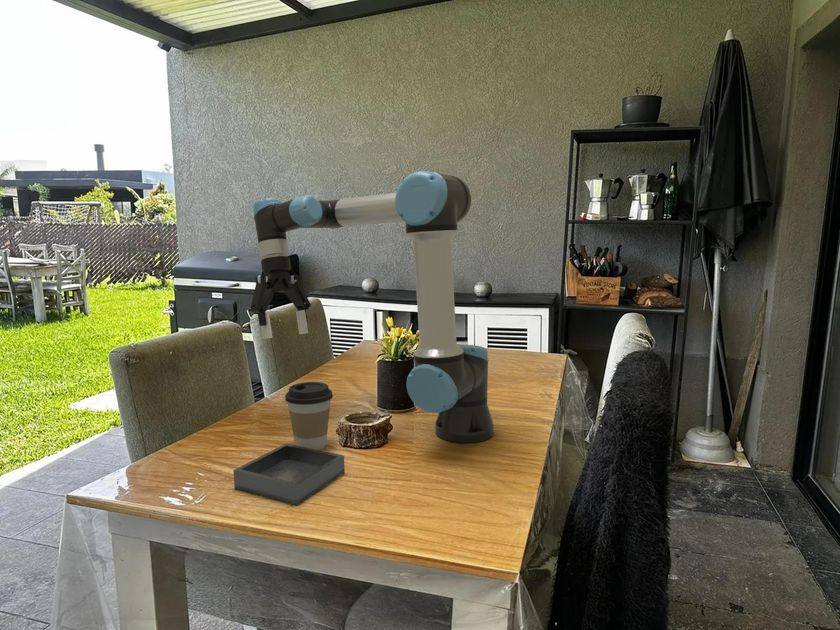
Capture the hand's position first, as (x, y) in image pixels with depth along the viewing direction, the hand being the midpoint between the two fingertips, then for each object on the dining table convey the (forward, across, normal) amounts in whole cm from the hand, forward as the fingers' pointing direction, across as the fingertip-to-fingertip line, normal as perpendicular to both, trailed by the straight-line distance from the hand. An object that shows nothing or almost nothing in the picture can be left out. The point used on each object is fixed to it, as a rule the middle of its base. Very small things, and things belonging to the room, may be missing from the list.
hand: (286, 336), depth 148 cm
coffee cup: (+28, +8, +11) cm, 31 cm away
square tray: (+31, +25, +19) cm, 44 cm away
